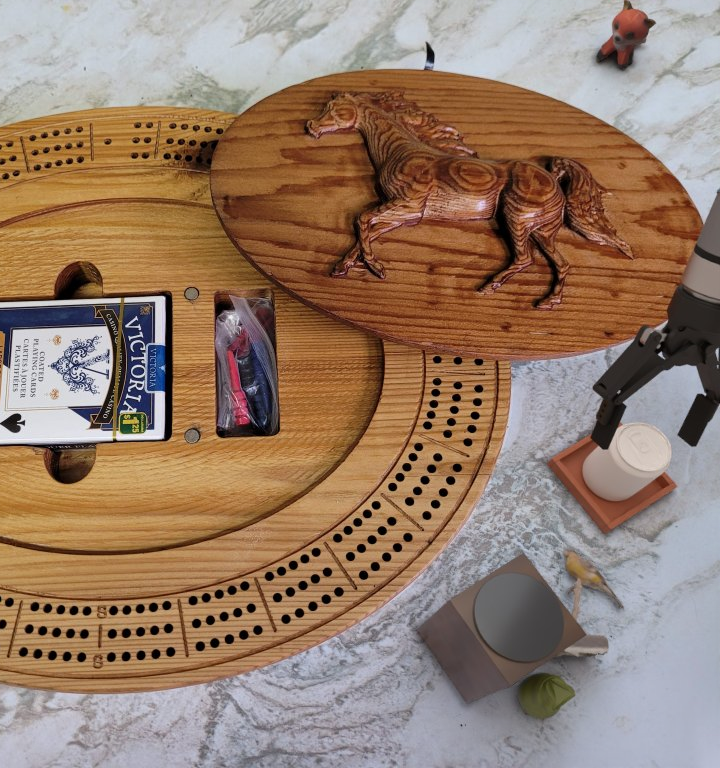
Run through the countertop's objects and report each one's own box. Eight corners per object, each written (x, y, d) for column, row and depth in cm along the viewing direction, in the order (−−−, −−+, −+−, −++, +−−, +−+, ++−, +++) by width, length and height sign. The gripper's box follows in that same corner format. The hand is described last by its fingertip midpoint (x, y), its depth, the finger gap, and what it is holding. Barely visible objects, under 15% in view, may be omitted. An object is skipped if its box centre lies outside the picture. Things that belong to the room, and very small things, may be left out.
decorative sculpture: (560, 549, 118) (578, 535, 111) (628, 579, 115) (651, 566, 109) (527, 655, 112) (545, 646, 105) (599, 688, 109) (621, 681, 103)
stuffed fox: (654, 52, 160) (684, -2, 149) (619, 81, 157) (647, 29, 146) (622, 32, 162) (649, -22, 152) (586, 61, 159) (611, 8, 149)
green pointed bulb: (535, 669, 111) (561, 658, 102) (563, 704, 109) (592, 696, 100) (503, 692, 110) (527, 684, 101) (531, 729, 107) (557, 723, 98)
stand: (531, 659, 111) (587, 634, 93) (466, 703, 109) (510, 686, 91) (480, 589, 116) (523, 552, 98) (416, 629, 114) (449, 599, 96)
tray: (670, 491, 121) (678, 486, 119) (604, 534, 118) (610, 529, 116) (610, 423, 126) (617, 417, 124) (546, 463, 123) (551, 458, 121)
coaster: (580, 633, 93) (582, 632, 93) (511, 679, 92) (512, 679, 91) (523, 558, 97) (524, 556, 97) (455, 601, 95) (456, 600, 95)
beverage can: (600, 511, 120) (636, 483, 109) (569, 462, 123) (601, 431, 112) (648, 490, 121) (688, 461, 110) (616, 443, 124) (651, 410, 113)
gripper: (772, 282, 103) (701, 424, 113) (602, 277, 96) (544, 428, 107) (822, 308, 96) (742, 456, 107) (644, 305, 90) (578, 462, 101)
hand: (643, 442), depth 107 cm, fingers open, 13 cm apart
